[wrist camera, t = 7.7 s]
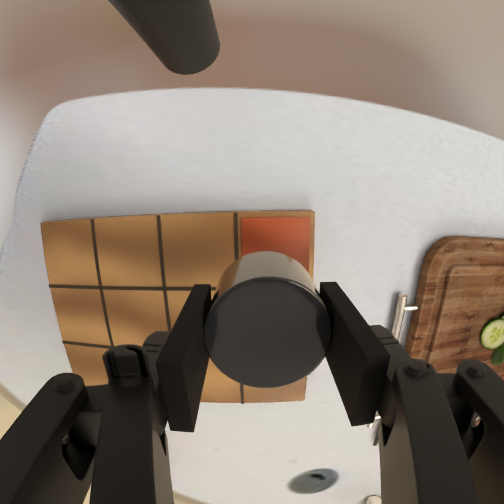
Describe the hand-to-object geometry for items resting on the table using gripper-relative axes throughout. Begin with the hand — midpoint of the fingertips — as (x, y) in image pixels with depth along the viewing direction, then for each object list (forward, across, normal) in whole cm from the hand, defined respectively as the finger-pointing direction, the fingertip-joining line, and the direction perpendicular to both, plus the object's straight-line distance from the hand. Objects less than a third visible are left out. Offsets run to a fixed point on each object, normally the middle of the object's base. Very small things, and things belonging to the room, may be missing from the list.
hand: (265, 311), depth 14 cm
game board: (+11, -8, -6) cm, 15 cm away
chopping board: (+11, +35, -12) cm, 39 cm away
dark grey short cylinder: (+1, 0, 0) cm, 1 cm away
